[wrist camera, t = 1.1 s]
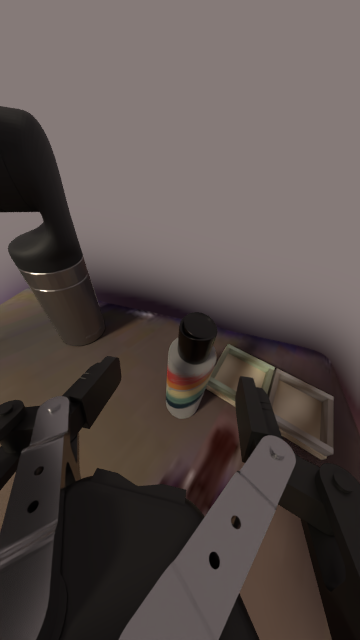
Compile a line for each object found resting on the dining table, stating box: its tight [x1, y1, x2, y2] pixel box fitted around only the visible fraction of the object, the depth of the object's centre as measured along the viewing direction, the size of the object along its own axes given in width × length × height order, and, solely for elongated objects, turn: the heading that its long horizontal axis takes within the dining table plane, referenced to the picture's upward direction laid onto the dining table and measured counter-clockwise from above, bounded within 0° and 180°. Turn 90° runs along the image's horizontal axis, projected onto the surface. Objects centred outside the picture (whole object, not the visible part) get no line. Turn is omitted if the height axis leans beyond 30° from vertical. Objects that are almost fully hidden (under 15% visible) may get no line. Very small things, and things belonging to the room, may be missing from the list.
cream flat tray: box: [206, 344, 334, 460], centre depth 33 cm, size 20×10×3 cm, turn 58°
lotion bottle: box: [166, 312, 217, 419], centre depth 25 cm, size 6×6×20 cm
